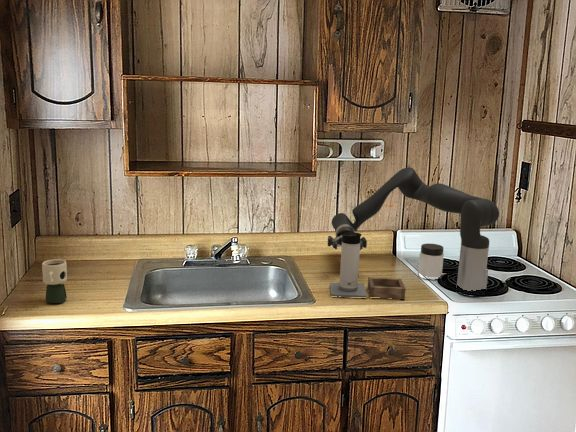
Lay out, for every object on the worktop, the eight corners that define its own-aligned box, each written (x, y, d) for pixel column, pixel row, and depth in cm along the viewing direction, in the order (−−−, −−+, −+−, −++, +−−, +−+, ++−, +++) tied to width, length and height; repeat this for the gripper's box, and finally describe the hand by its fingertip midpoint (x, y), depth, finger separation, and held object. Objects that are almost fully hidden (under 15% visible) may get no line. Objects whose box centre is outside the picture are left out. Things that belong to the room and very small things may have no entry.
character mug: (63, 308, 185) (61, 267, 182) (39, 308, 184) (36, 267, 181) (72, 295, 195) (70, 257, 192) (49, 295, 195) (47, 257, 192)
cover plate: (363, 287, 213) (363, 283, 212) (366, 299, 201) (366, 295, 201) (329, 285, 213) (330, 282, 213) (330, 297, 201) (330, 294, 201)
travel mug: (352, 293, 203) (355, 236, 198) (335, 288, 206) (338, 232, 202) (361, 288, 208) (365, 232, 203) (345, 284, 211) (348, 229, 207)
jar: (446, 279, 225) (449, 248, 222) (429, 281, 221) (432, 250, 218) (429, 272, 232) (432, 242, 230) (413, 274, 228) (416, 244, 226)
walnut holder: (400, 289, 212) (401, 278, 211) (404, 300, 201) (405, 288, 200) (367, 287, 212) (368, 277, 211) (370, 298, 202) (371, 287, 201)
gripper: (363, 245, 231) (367, 258, 215) (326, 244, 231) (327, 256, 216) (364, 226, 229) (368, 237, 213) (327, 225, 230) (328, 236, 214)
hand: (347, 247), depth 215 cm, fingers open, 8 cm apart
